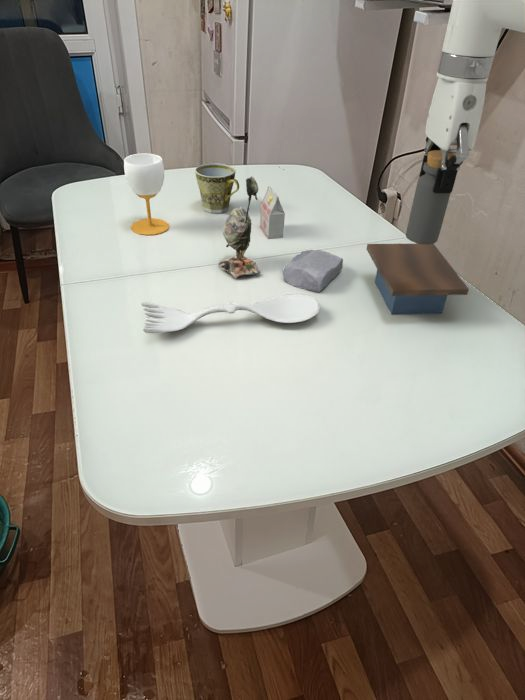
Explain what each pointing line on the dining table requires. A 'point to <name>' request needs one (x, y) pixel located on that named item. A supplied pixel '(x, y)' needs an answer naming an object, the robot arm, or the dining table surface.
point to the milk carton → (272, 215)
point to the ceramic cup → (216, 186)
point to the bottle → (428, 204)
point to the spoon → (273, 309)
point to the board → (415, 270)
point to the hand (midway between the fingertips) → (434, 184)
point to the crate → (410, 301)
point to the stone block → (312, 269)
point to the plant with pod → (240, 236)
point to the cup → (146, 188)
